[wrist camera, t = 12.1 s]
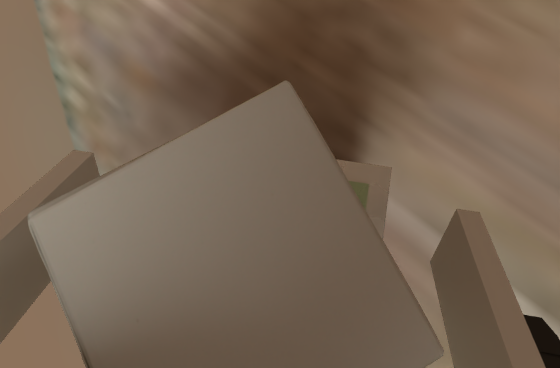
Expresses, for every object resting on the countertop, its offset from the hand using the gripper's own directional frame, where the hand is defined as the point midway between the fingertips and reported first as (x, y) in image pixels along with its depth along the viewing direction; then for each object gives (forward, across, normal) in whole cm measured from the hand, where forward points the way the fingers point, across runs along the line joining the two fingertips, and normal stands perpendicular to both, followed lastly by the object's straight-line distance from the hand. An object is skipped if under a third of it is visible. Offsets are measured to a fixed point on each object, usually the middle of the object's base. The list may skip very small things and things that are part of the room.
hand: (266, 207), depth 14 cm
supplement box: (+4, 0, -7) cm, 8 cm away
